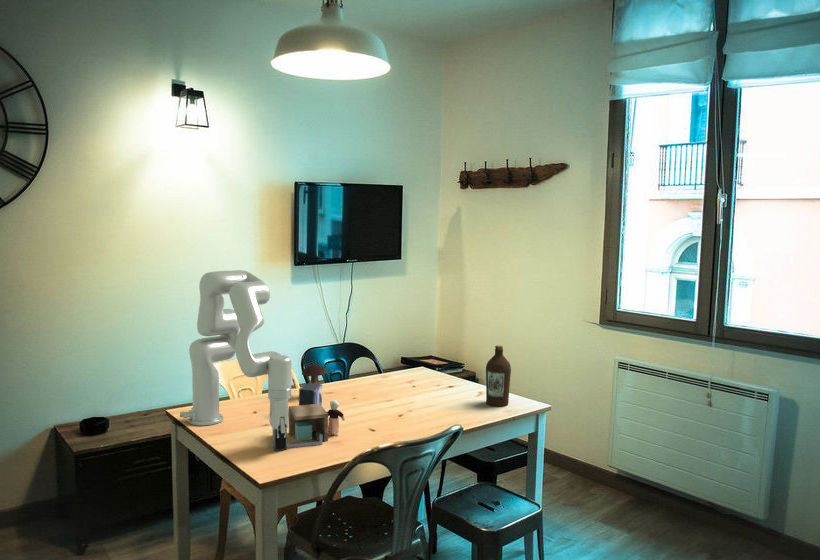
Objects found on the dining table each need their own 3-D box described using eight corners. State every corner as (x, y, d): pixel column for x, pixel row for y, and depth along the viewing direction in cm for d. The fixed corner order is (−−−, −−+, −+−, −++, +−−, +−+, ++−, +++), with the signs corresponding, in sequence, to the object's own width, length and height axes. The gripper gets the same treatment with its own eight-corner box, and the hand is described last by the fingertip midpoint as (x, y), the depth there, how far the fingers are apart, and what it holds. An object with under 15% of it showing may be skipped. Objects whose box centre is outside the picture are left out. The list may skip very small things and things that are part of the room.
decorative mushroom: (307, 402, 269) (307, 367, 268) (297, 395, 278) (298, 362, 277) (331, 399, 274) (331, 364, 273) (321, 393, 284) (321, 359, 283)
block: (297, 440, 222) (297, 426, 221) (294, 436, 226) (295, 422, 226) (311, 439, 224) (312, 425, 223) (308, 434, 228) (309, 421, 228)
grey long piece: (274, 451, 211) (274, 430, 210) (271, 444, 217) (271, 424, 216) (323, 445, 217) (323, 425, 216) (319, 439, 223) (319, 420, 222)
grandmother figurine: (322, 436, 226) (323, 401, 225) (323, 432, 230) (324, 398, 229) (344, 436, 227) (345, 401, 226) (345, 433, 231) (345, 398, 230)
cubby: (295, 444, 218) (295, 416, 217) (288, 432, 230) (288, 406, 229) (327, 441, 222) (328, 413, 221) (319, 429, 234) (319, 403, 233)
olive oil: (488, 399, 280) (489, 342, 277) (512, 402, 276) (514, 345, 274) (482, 405, 270) (483, 347, 267) (506, 408, 266) (508, 349, 264)
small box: (313, 416, 250) (313, 390, 249) (298, 414, 251) (298, 388, 250) (322, 408, 260) (322, 383, 259) (307, 407, 261) (307, 382, 261)
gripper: (264, 387, 218) (264, 439, 220) (272, 400, 203) (272, 456, 204) (286, 386, 221) (286, 437, 223) (295, 398, 205) (295, 453, 207)
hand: (279, 446), depth 214 cm, fingers closed on grey long piece, 4 cm apart
